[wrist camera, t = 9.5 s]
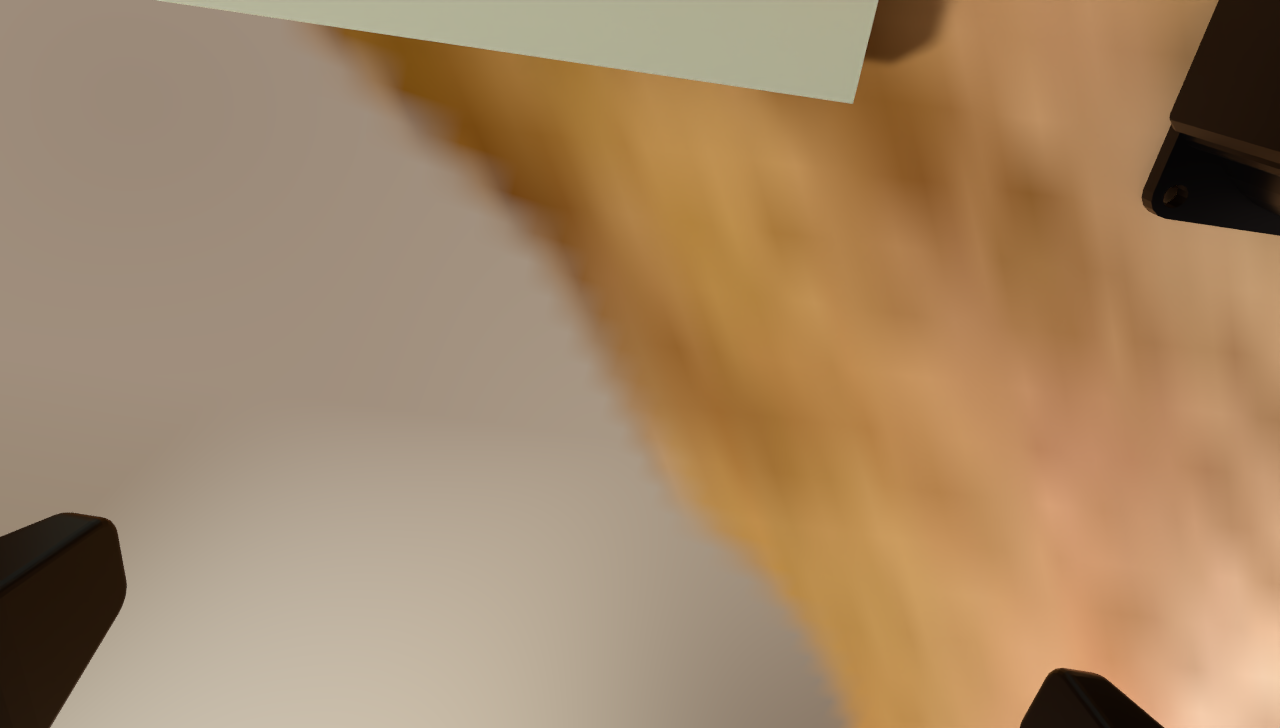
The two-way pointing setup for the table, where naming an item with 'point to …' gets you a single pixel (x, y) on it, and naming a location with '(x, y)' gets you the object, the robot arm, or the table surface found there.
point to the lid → (628, 34)
